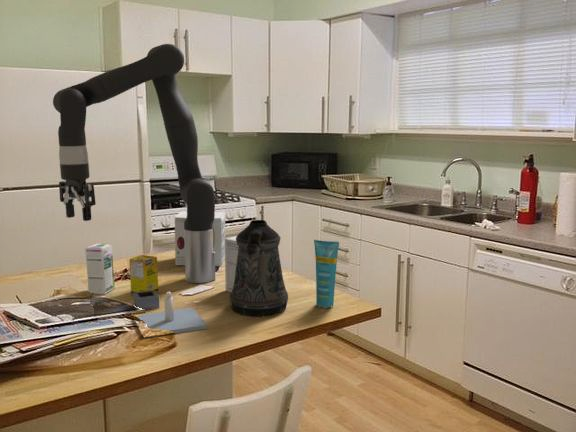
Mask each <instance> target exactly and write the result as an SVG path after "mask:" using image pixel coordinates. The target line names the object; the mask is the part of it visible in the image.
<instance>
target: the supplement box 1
mask: <svg viewBox="0 0 576 432" xmlns="http://www.w3.org/2000/svg"><path fill="white" fill-rule="evenodd" d="M128 260H129V261H128V262H129V275H130V277H129V278H130V294H133V292H141V291H149V290H155V291H156V292H158V291H159V275H158V257H157V256H155V255H154V256H153V255H147V254H141V255H137V256H134V257H132V258H128Z"/></svg>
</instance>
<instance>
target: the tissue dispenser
mask: <svg viewBox="0 0 576 432" xmlns="http://www.w3.org/2000/svg"><path fill="white" fill-rule="evenodd" d="M132 304H134V305H135V306H136V307H139V308H142V309H145V310H144V311H148V310H149V311H150V310H155V309H160V295H159V294H158V293H157V291H155V290H149V291H141V292H133V293H132ZM134 305H133V306H134Z"/></svg>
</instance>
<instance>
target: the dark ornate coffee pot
mask: <svg viewBox="0 0 576 432" xmlns="http://www.w3.org/2000/svg"><path fill="white" fill-rule="evenodd" d="M236 236H237V237H236V242H237V245H238V246H239V249H238V256H237V264H236V271H235V280H234V286H233V290H232V292H230V294H229V301H230V305H231V310H232V311H233V312H234V313H235V314H238V315H240V316H247V317H252V318H253V317H254V318H255V317H257V318H263V317H262V316H265V317H272V315H273V316H276V315H279V314H278V313H280V314H281V312H282V311H283V312H285V311H286V309H287V305H288V300H289V293H288V291H287V289H286V286H285V281H284V276H283V270H282V264H281V258H280V251H279V246H280V243H281V236H280V235H279V233H278V232H277V231H275V230H274V229H273V228H271V226H269V224H268V222H267V221H266V220H263V219H254V220H250V221H249V225H247V226H246V227H245V228H244V229H242V230H241V231H240V232H239V233H238V234H237V235H236ZM284 310H285V311H284ZM283 312H282V313H283ZM275 314H276V315H275Z"/></svg>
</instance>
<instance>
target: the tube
mask: <svg viewBox="0 0 576 432" xmlns="http://www.w3.org/2000/svg"><path fill="white" fill-rule="evenodd" d="M313 243H314V252H315V253H314V257H315V281H316V283H315V287H316V289H315V291H316V296H315V297H316V298H315V299H316V301H315V302H316V304H317V305H316V306H317V307H319V306H320V307H319V308H321V307H330V308H332V307H334V301H335V290H336V289H335V287H336V277H337V262H338V253H339V249H340V248H339V247H340V241H336V240H335V241H331V240H328V241H327V240H320V239H313ZM331 306H332V307H331Z"/></svg>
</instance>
